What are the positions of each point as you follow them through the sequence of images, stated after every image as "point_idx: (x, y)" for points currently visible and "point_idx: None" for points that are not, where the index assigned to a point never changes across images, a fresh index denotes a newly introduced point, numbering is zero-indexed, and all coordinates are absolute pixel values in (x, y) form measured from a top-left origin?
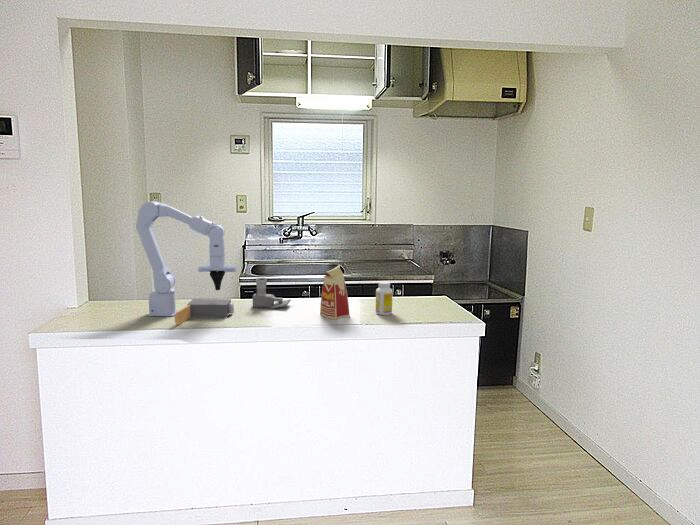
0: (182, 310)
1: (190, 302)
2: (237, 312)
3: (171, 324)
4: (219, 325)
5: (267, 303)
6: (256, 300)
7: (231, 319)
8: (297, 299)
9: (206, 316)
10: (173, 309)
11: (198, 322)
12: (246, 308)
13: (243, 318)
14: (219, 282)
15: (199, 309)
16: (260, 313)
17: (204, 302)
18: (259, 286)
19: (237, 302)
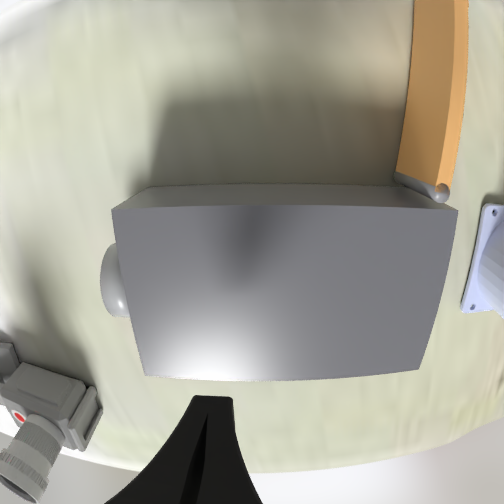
0: (452, 40)
1: (438, 275)
2: None
3: None
4: (156, 4)
5: (22, 375)
6: (56, 395)
7: (108, 142)
8: None
9: (290, 184)
10: (499, 251)
11: (314, 55)
12: (111, 370)
13: (52, 175)
14: (159, 459)
15: (352, 195)
16: (18, 280)
17: (331, 282)
18: (21, 451)
19: None
